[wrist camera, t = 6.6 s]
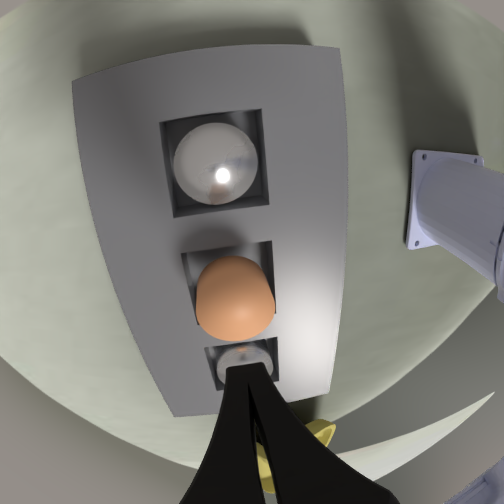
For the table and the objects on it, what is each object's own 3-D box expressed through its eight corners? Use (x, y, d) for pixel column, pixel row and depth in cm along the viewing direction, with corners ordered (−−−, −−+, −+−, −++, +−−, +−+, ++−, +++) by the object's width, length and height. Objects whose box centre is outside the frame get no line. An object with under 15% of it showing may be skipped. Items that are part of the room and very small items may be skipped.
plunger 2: (265, 325, 20) (271, 347, 18) (268, 361, 22) (274, 383, 20) (211, 333, 20) (212, 356, 18) (220, 368, 22) (222, 391, 19)
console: (319, 58, 14) (339, 48, 11) (318, 370, 25) (328, 392, 22) (92, 87, 13) (71, 81, 10) (175, 392, 24) (174, 417, 21)
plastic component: (317, 464, 33) (264, 499, 28) (288, 435, 38) (236, 466, 34) (344, 410, 23) (261, 470, 19) (296, 368, 29) (217, 414, 24)
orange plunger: (264, 250, 15) (273, 271, 13) (268, 309, 17) (276, 334, 15) (191, 261, 15) (188, 284, 13) (203, 319, 17) (204, 345, 15)
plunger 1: (247, 120, 14) (253, 118, 12) (253, 189, 16) (261, 199, 14) (174, 129, 14) (168, 129, 12) (184, 198, 16) (180, 210, 13)
